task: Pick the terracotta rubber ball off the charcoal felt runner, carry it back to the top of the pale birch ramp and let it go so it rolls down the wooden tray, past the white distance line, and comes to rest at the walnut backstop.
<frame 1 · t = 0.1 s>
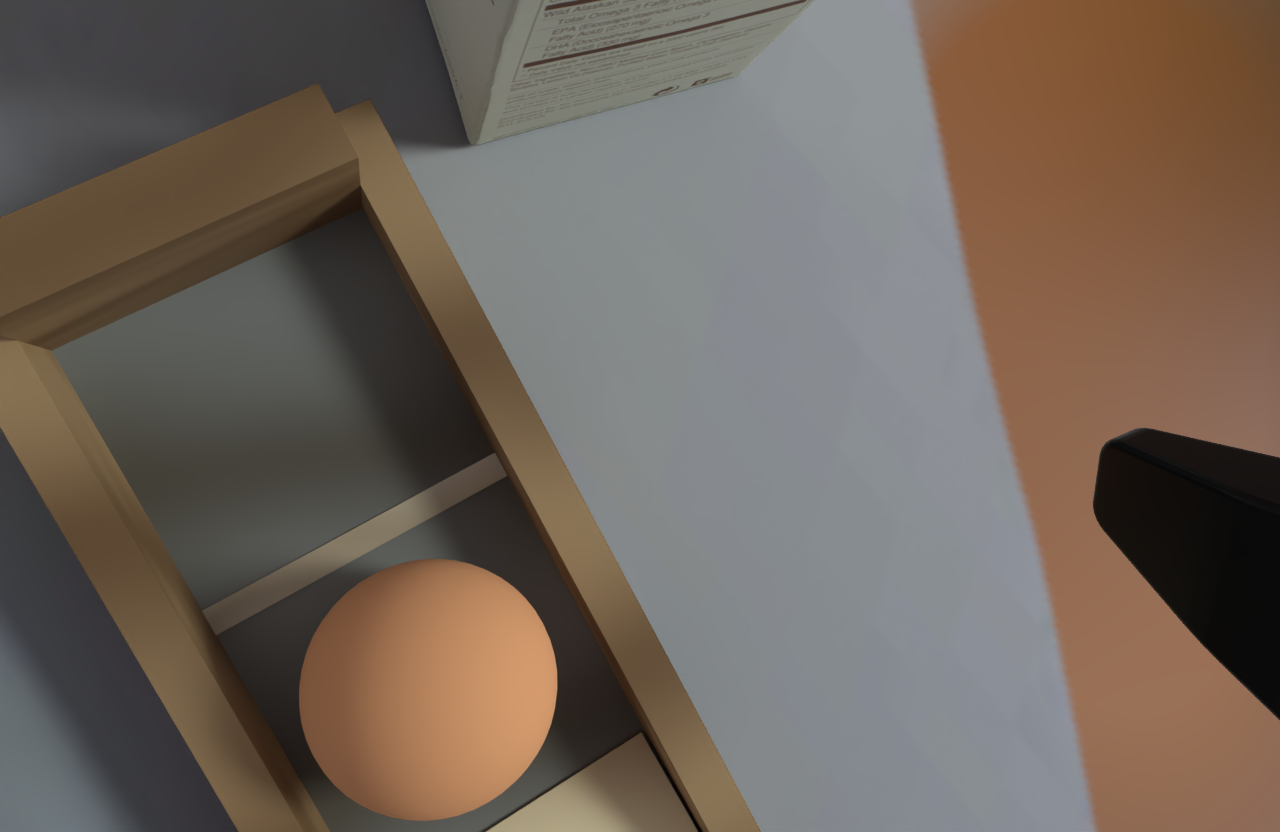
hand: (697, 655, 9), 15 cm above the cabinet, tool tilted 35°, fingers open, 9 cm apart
wooden tray: (477, 748, 23), on the cabinet
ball: (431, 685, 20), point 3 cm above the cabinet, touching wooden tray
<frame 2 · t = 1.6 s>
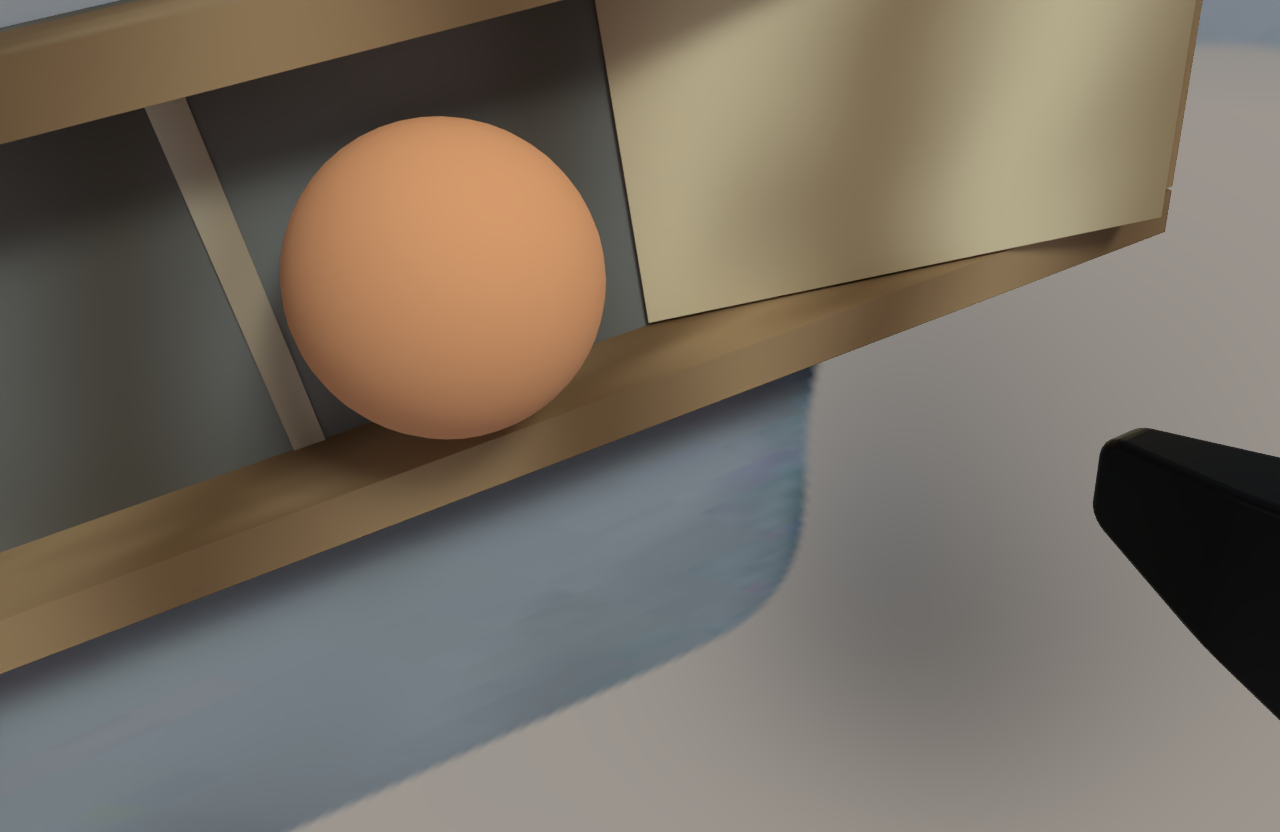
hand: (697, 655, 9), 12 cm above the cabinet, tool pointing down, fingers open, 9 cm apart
wooden tray: (535, 181, 19), on the cabinet
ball: (447, 281, 16), point 3 cm above the cabinet, touching wooden tray
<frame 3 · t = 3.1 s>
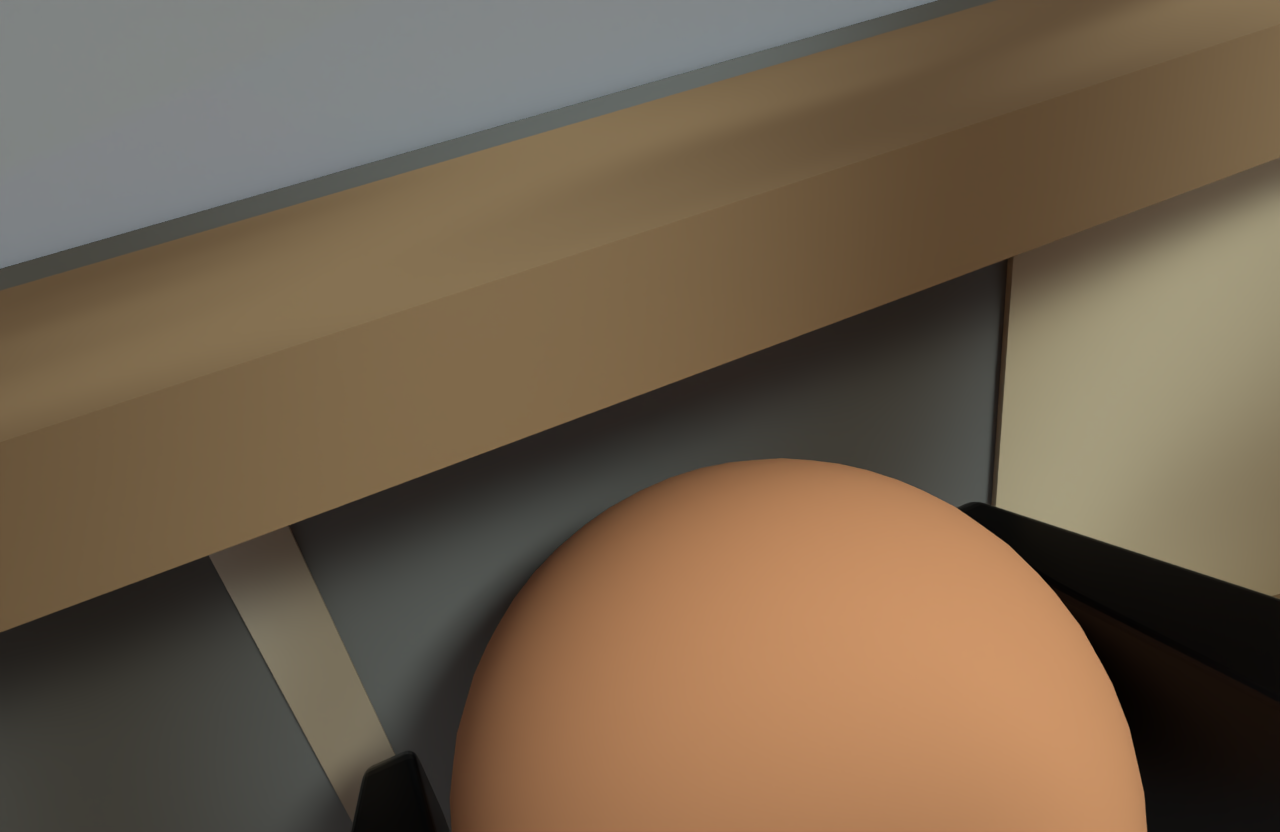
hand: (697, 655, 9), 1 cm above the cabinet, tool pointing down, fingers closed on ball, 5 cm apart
wooden tray: (845, 471, 11), on the cabinet
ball: (781, 785, 8), point 3 cm above the cabinet, touching gripper, wooden tray
when the fingers open (5 cm above the cabinet, at t = 6.6 s): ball drops 4 cm and tips over, resting on wooden tray.
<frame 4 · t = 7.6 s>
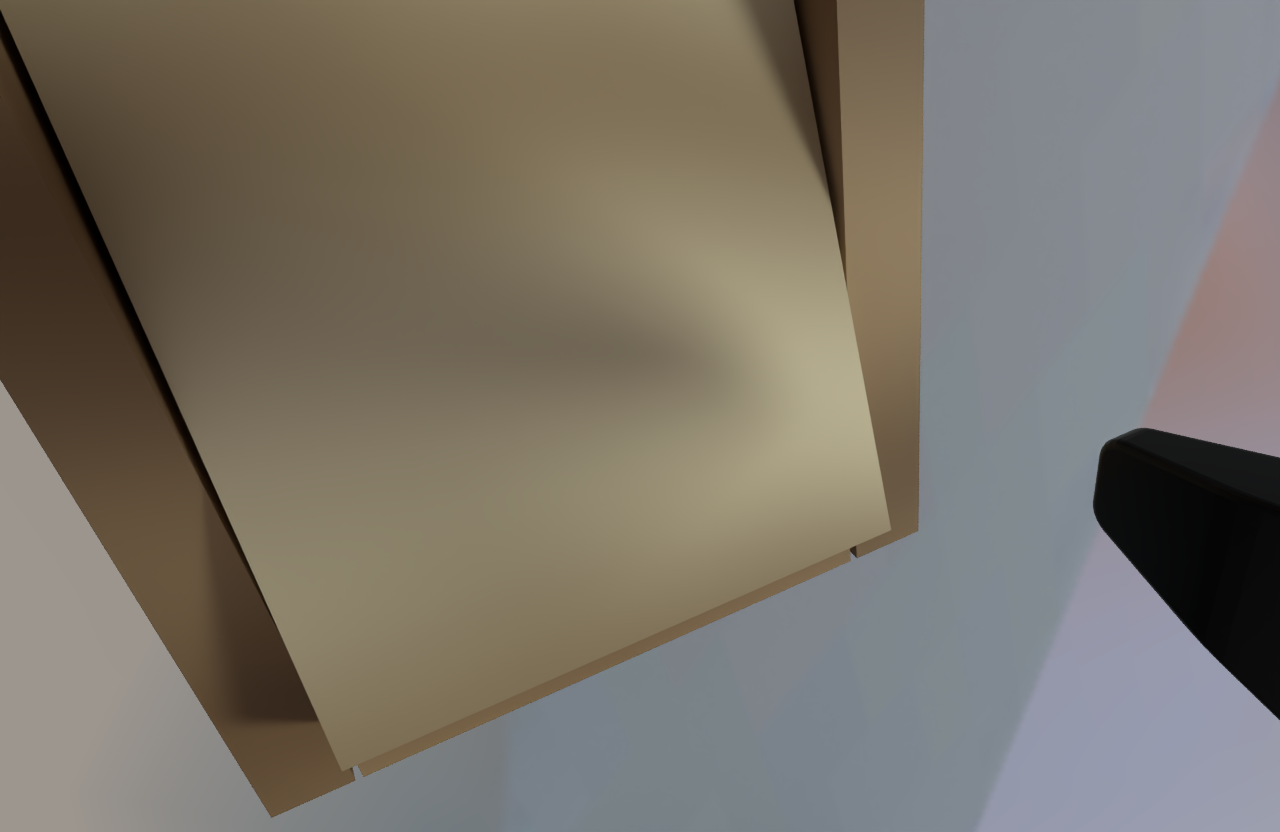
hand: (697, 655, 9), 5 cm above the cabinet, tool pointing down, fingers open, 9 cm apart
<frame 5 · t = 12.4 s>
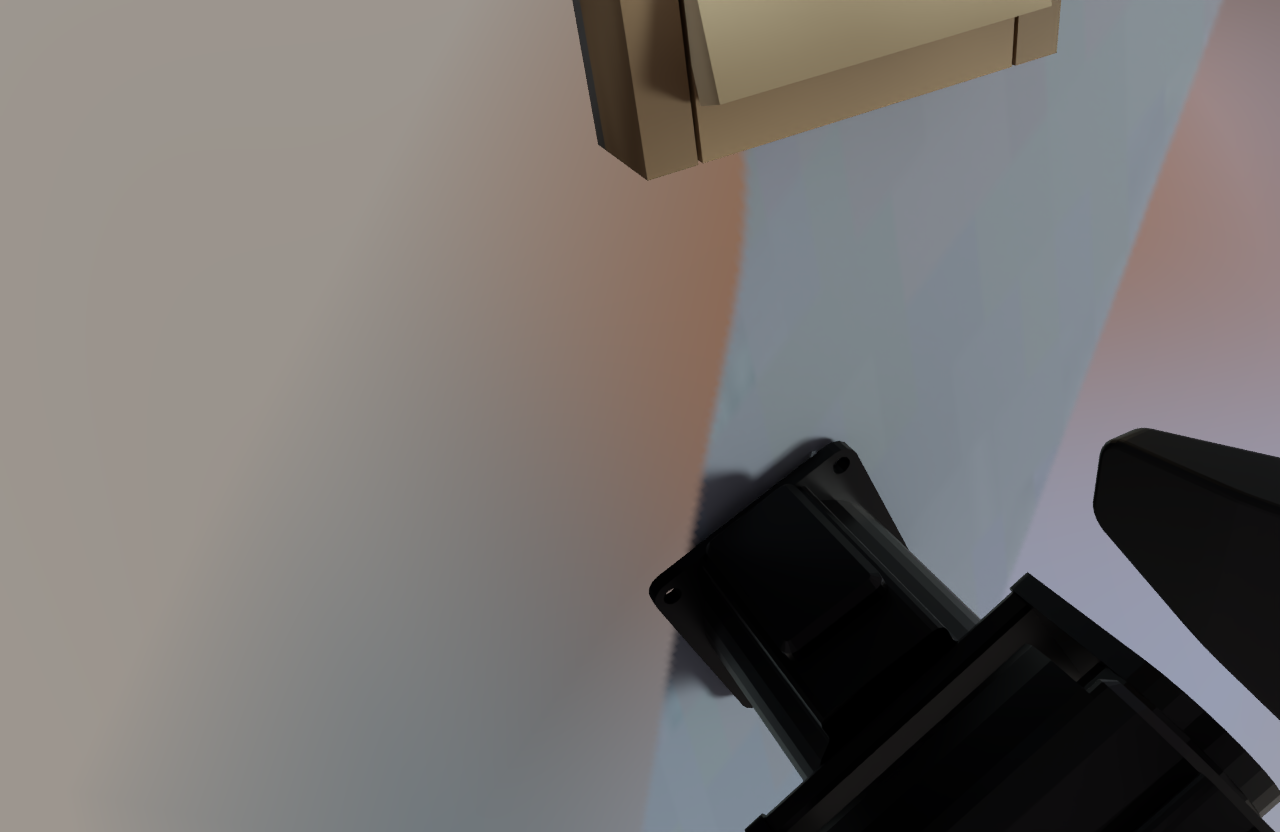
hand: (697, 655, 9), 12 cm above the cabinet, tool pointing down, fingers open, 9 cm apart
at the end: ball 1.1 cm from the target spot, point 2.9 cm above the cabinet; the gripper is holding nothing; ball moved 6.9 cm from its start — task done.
